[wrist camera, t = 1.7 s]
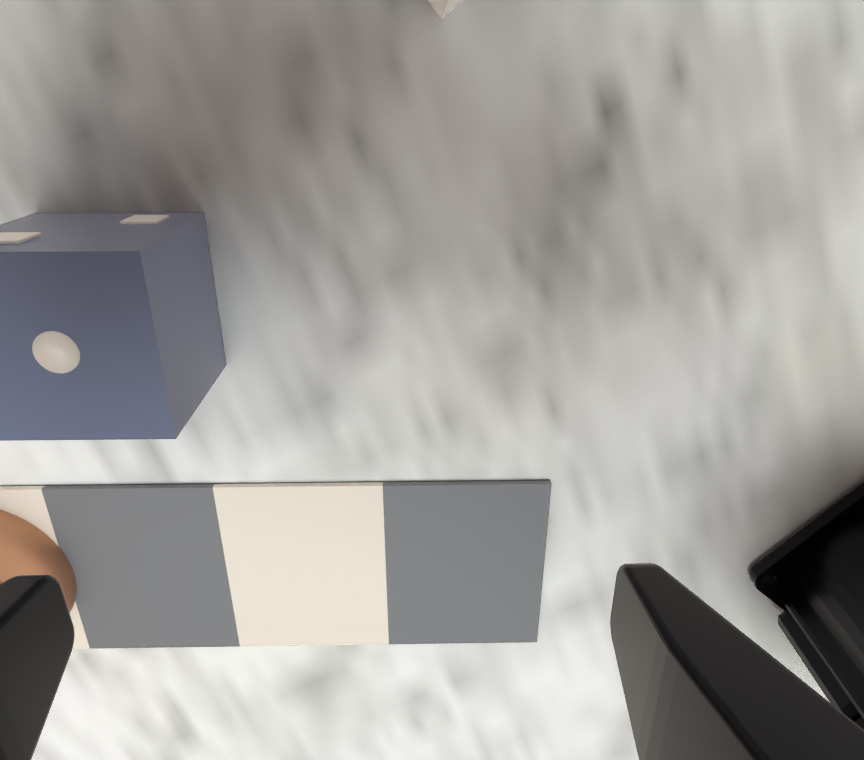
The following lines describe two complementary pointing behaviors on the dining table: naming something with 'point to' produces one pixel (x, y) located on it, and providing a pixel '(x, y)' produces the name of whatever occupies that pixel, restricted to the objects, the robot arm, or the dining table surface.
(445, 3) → the milk
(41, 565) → the pawn
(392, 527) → the board
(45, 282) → the die
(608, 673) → the dining table surface
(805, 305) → the dining table surface
